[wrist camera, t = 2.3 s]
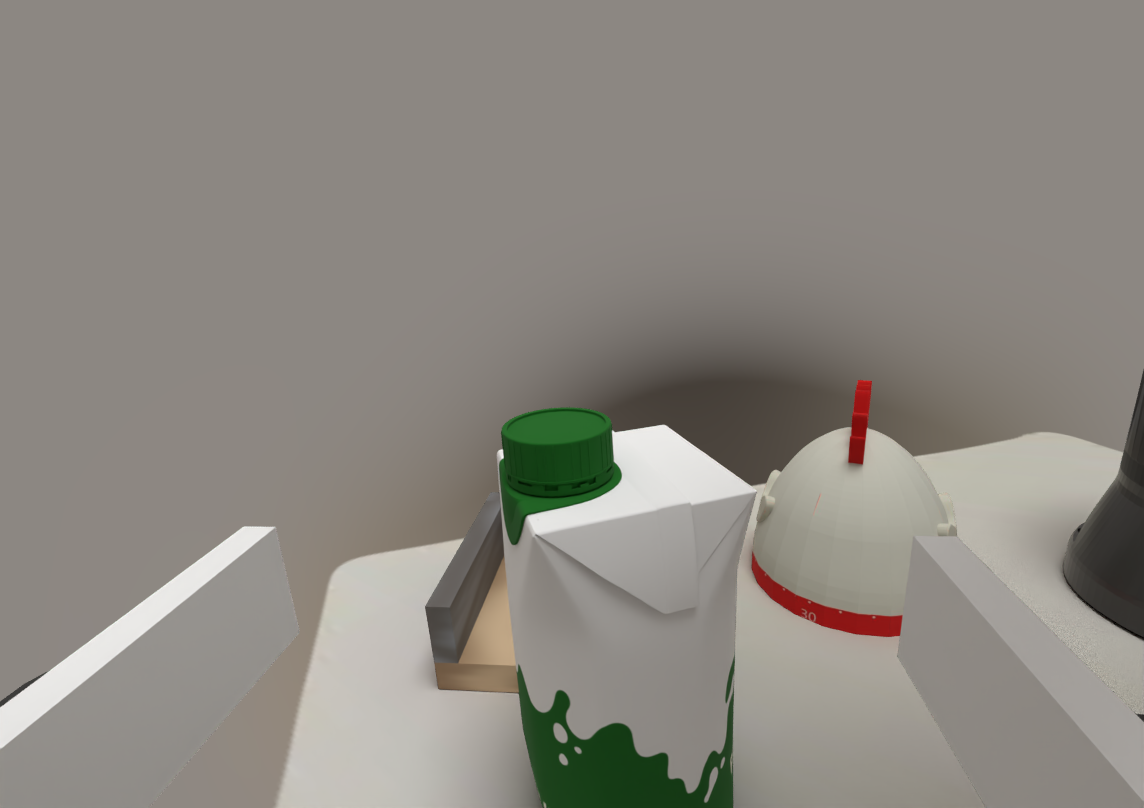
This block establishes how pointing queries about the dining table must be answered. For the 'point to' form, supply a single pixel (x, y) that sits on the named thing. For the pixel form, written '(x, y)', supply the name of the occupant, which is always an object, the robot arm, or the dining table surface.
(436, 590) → the dock
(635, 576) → the soya milk
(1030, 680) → the robot arm
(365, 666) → the dining table surface
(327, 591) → the dining table surface
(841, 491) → the kitchen timer
